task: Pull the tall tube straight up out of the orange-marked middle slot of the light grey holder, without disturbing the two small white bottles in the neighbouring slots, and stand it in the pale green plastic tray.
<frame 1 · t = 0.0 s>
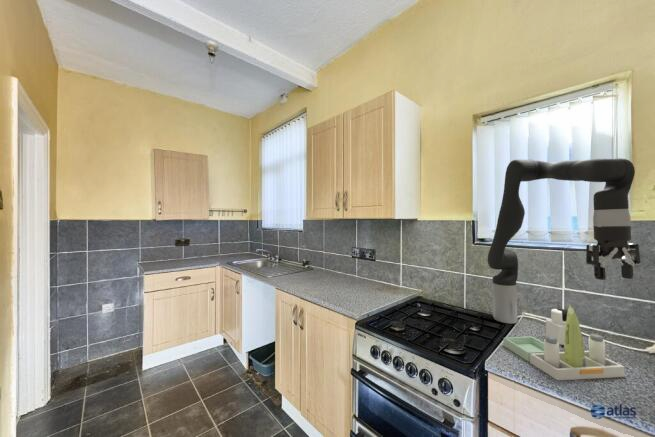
hand: (613, 278, 76), 29 cm above the table, tool pointing down, fingers open, 8 cm apart
tray: (530, 352, 91), on the table
bottle 1: (552, 370, 80), resting in holder
holder: (575, 369, 80), on the table
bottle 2: (597, 368, 81), resting in holder
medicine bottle: (562, 341, 99), on the table
tube: (575, 370, 80), resting in holder
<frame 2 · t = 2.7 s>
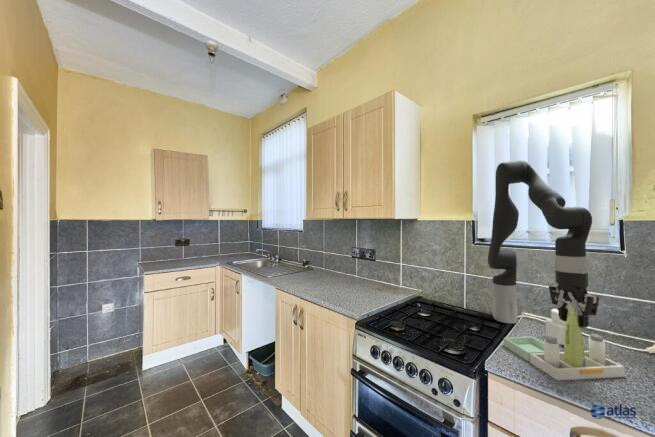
hand: (573, 323, 81), 14 cm above the table, tool pointing down, fingers closed on tube, 5 cm apart
tube: (575, 369, 80), resting in holder, touching gripper
everything else where it was.
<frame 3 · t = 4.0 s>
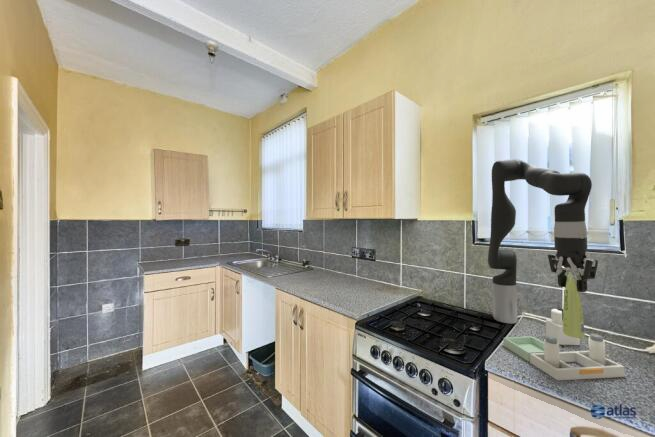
hand: (572, 289, 81), 25 cm above the table, tool pointing down, fingers closed on tube, 5 cm apart
tube: (573, 335, 81), point 11 cm above the table, touching gripper
everything else where it was.
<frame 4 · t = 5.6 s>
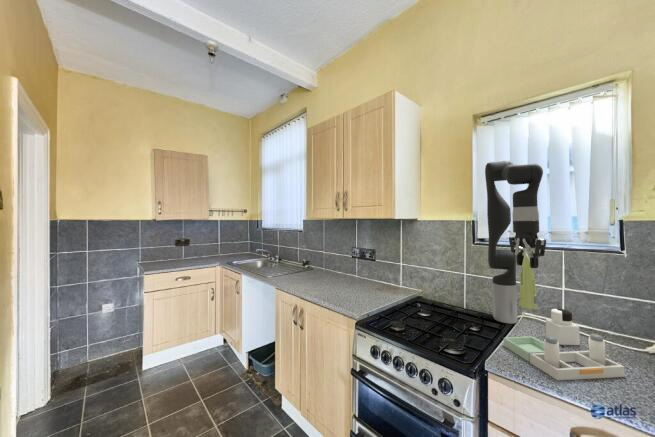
hand: (527, 266, 92), 31 cm above the table, tool pointing down, fingers closed on tube, 5 cm apart
tube: (528, 307, 91), point 16 cm above the table, touching gripper
everything else where it was.
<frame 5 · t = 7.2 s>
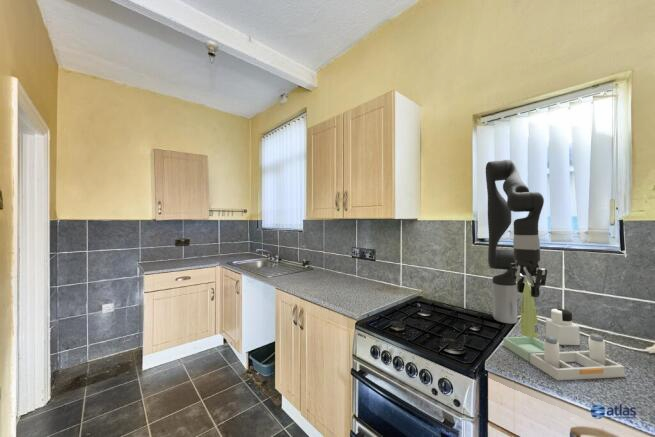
hand: (528, 294, 92), 21 cm above the table, tool pointing down, fingers closed on tube, 5 cm apart
tube: (529, 335, 91), point 6 cm above the table, touching gripper
everything else where it was.
when the fingers open (16 cm above the table, at t = 8.7 s): tube stays where it is, resting on tray.
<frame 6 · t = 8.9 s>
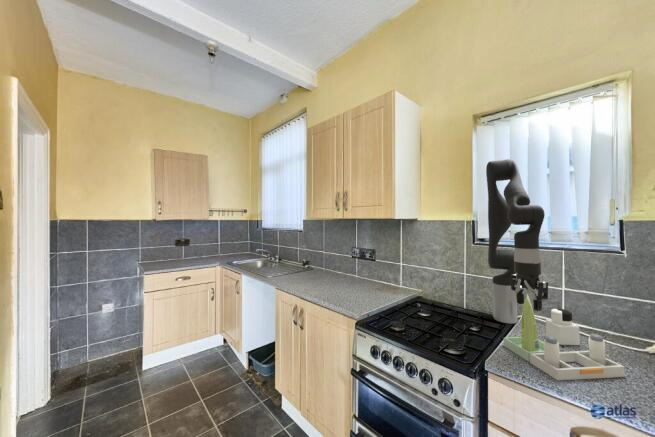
hand: (528, 306, 91), 16 cm above the table, tool pointing down, fingers open, 6 cm apart
tube: (530, 351, 91), resting on tray
everything else where it was.
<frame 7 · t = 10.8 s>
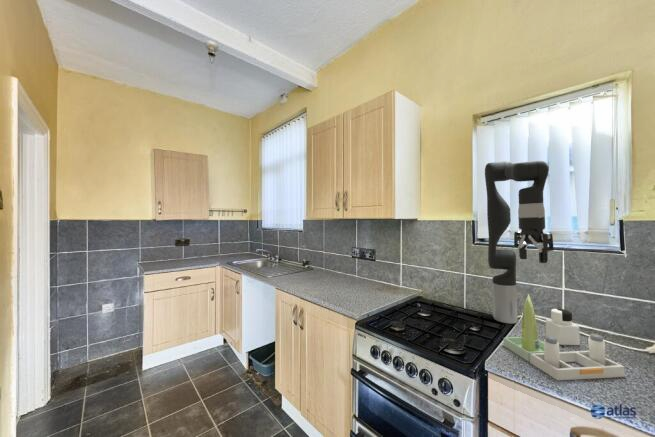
hand: (532, 261, 92), 32 cm above the table, tool pointing down, fingers open, 8 cm apart
nothing on the table moved.
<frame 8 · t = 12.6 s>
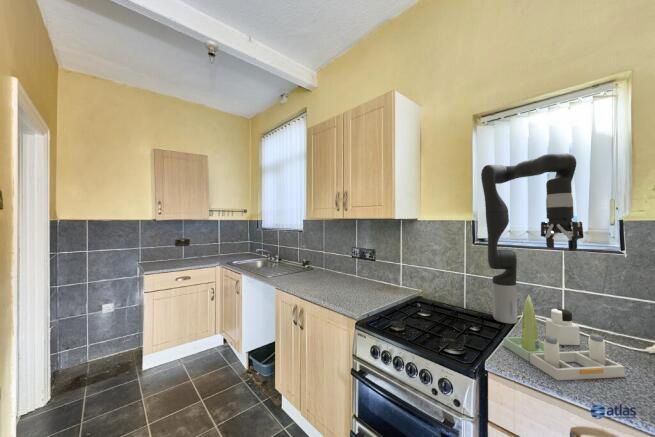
hand: (561, 249, 95), 36 cm above the table, tool pointing down, fingers open, 8 cm apart
nothing on the table moved.
at the end: tube inside the target area on the tray (0.0 cm from its centre), point 0.4 cm above the tray's base; bottle 1 moved 0.0 cm from its start; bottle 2 moved 0.0 cm from its start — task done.
